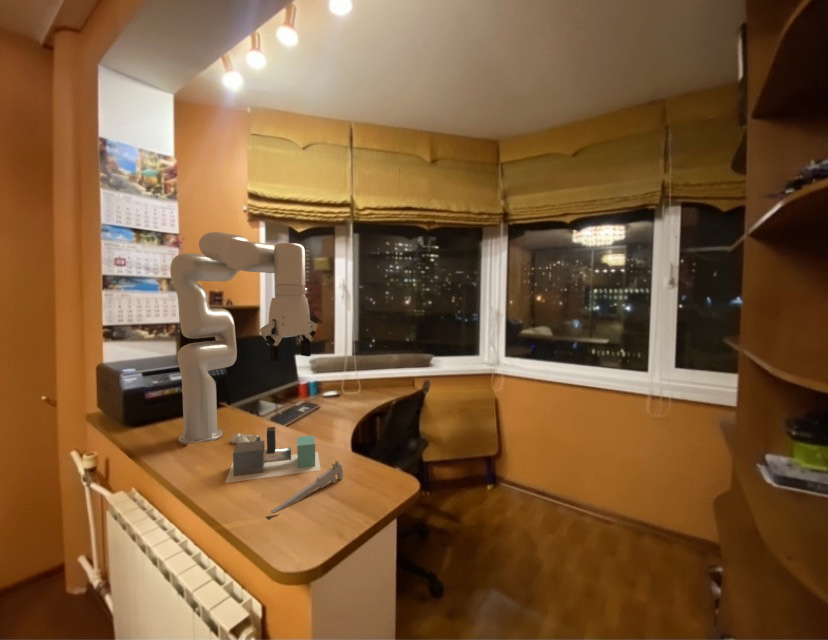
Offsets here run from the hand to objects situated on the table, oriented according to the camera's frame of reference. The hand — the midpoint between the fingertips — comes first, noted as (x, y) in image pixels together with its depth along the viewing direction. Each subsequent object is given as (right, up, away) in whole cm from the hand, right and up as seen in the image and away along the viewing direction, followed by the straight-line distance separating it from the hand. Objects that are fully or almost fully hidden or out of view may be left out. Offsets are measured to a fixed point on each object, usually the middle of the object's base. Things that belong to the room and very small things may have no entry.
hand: (291, 358), depth 96 cm
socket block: (+2, -30, +7) cm, 31 cm away
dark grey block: (-12, -30, +3) cm, 32 cm away
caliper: (+7, -33, -9) cm, 34 cm away
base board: (-6, -31, +5) cm, 32 cm away
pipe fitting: (-21, -30, +19) cm, 42 cm away
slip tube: (-9, -29, +4) cm, 30 cm away
